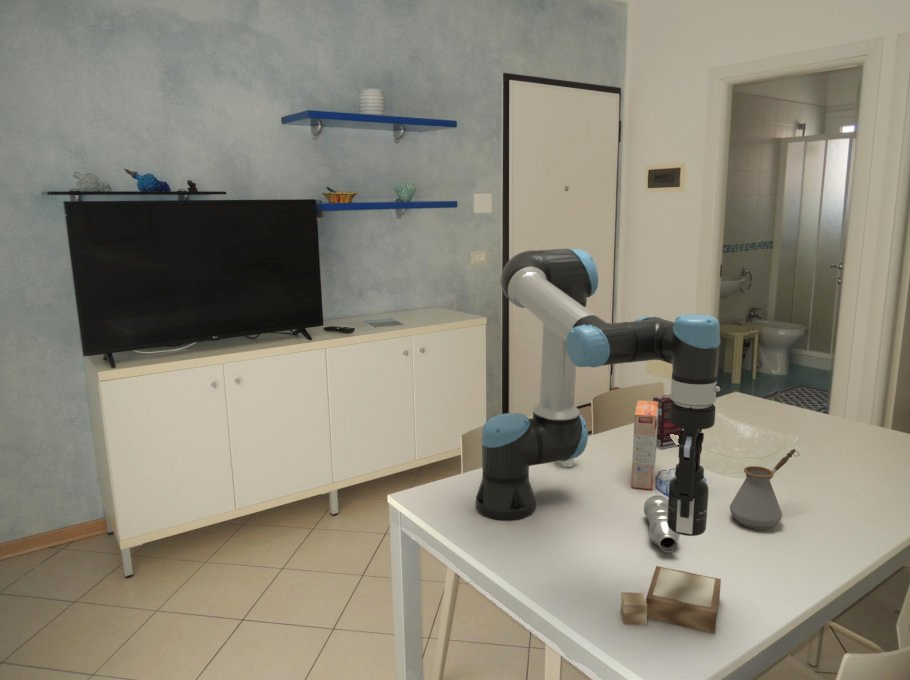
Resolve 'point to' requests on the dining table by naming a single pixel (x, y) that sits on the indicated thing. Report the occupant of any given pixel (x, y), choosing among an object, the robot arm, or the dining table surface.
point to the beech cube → (633, 608)
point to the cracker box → (644, 444)
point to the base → (684, 599)
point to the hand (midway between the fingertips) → (686, 522)
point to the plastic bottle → (660, 523)
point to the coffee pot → (758, 497)
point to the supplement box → (665, 423)
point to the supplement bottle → (699, 503)
